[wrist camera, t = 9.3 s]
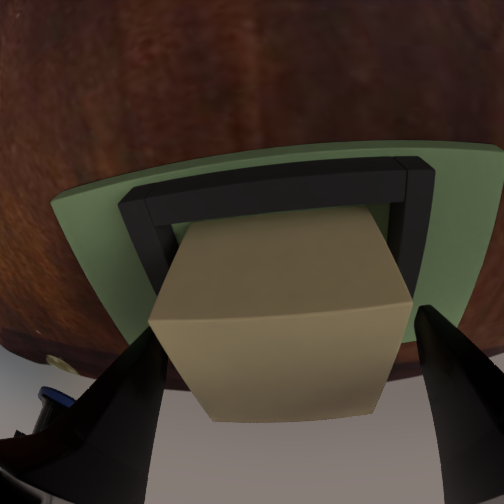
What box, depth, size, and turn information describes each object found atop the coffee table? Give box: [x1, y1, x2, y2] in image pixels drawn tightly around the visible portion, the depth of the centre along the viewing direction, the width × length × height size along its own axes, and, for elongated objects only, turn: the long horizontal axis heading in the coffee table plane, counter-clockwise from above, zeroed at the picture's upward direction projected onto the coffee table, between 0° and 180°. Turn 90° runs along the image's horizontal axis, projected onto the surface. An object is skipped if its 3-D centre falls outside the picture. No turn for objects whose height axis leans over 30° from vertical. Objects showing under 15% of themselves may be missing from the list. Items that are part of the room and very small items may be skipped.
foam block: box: [148, 206, 413, 423], centre depth 10 cm, size 6×6×4 cm
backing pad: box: [50, 140, 504, 345], centre depth 11 cm, size 18×10×2 cm, turn 99°
